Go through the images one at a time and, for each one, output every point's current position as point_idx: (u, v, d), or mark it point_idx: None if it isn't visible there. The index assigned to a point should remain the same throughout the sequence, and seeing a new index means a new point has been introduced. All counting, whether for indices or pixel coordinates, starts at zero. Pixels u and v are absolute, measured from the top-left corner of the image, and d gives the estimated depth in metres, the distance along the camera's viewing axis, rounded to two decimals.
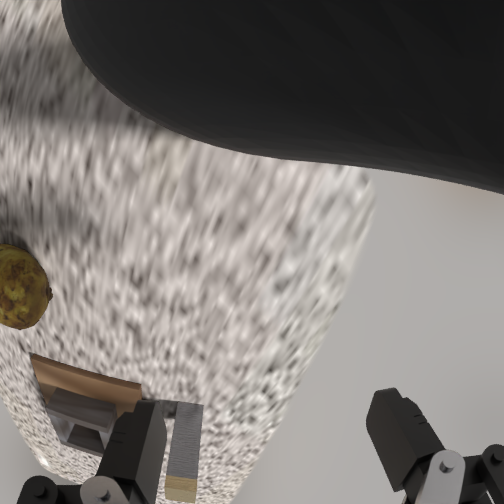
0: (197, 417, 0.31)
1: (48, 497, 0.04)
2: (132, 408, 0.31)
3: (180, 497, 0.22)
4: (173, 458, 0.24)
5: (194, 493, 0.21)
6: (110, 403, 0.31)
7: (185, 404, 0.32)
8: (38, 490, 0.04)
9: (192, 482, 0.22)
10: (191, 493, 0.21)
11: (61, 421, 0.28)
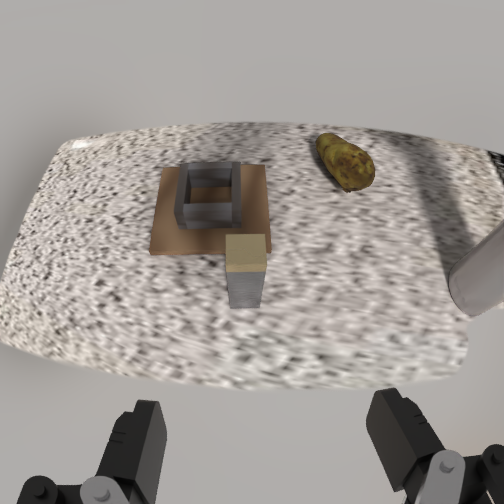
0: None
1: (48, 497, 0.04)
2: None
3: (241, 249, 0.27)
4: None
5: (261, 262, 0.26)
6: (241, 223, 0.41)
7: None
8: (38, 490, 0.04)
9: None
10: (260, 259, 0.26)
11: (217, 172, 0.41)
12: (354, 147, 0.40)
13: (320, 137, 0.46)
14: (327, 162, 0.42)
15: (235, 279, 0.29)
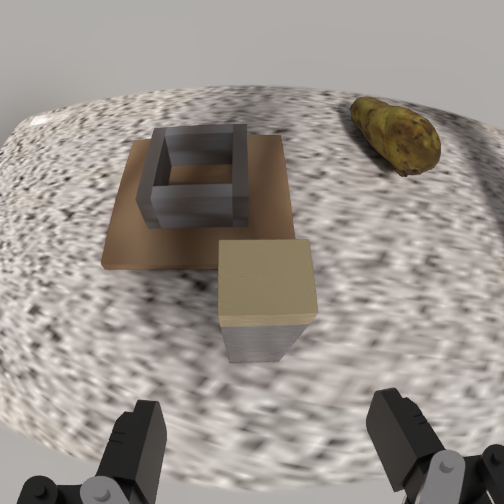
0: None
1: (48, 497, 0.04)
2: None
3: (255, 277, 0.11)
4: None
5: (305, 309, 0.11)
6: (248, 219, 0.25)
7: None
8: (38, 490, 0.04)
9: None
10: (303, 302, 0.11)
11: (209, 139, 0.26)
12: (412, 112, 0.25)
13: (358, 101, 0.30)
14: (374, 131, 0.27)
15: (240, 336, 0.13)
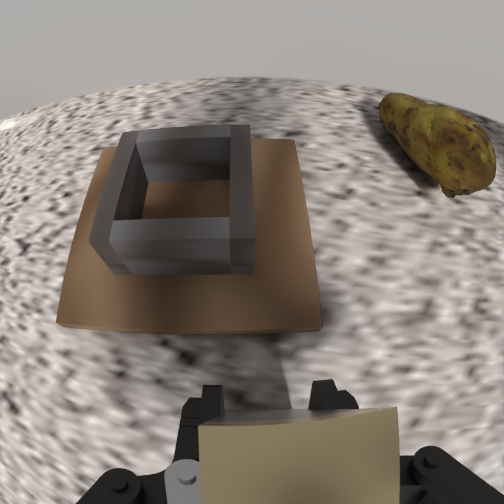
0: None
1: (130, 490, 0.05)
2: (253, 310, 0.17)
3: None
4: None
5: None
6: (252, 263, 0.18)
7: None
8: (118, 484, 0.05)
9: None
10: None
11: (197, 147, 0.18)
12: (462, 114, 0.17)
13: (389, 97, 0.23)
14: (416, 137, 0.19)
15: None
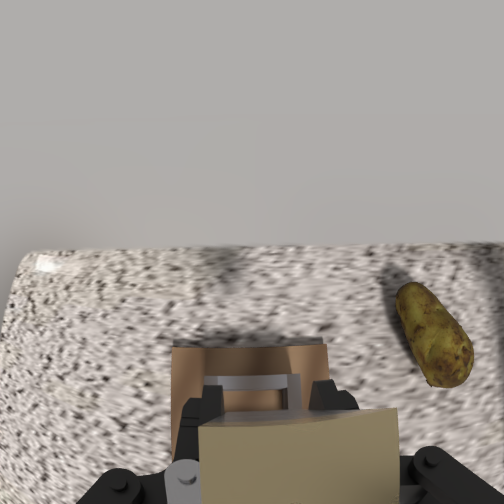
0: None
1: (130, 490, 0.05)
2: None
3: None
4: None
5: None
6: None
7: None
8: (118, 484, 0.05)
9: None
10: None
11: None
12: (458, 336, 0.24)
13: (407, 297, 0.30)
14: (417, 353, 0.26)
15: None
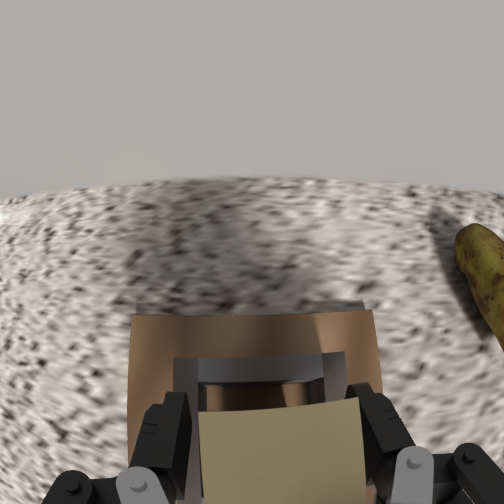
0: None
1: (82, 492, 0.05)
2: None
3: (266, 476, 0.05)
4: None
5: None
6: None
7: None
8: (71, 485, 0.05)
9: None
10: (345, 503, 0.05)
11: (279, 381, 0.14)
12: None
13: (473, 239, 0.19)
14: (499, 315, 0.15)
15: None
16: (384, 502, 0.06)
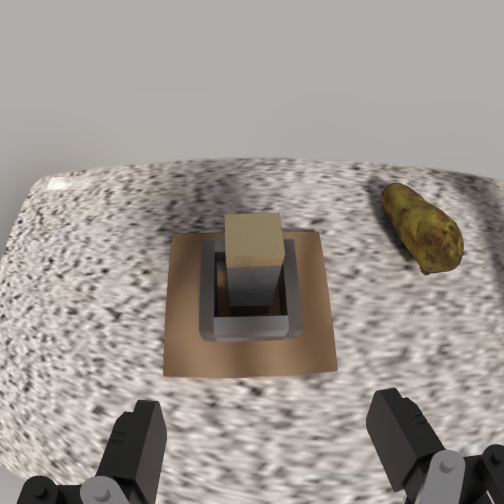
0: None
1: (48, 497, 0.04)
2: (296, 362, 0.27)
3: (247, 234, 0.19)
4: None
5: (277, 251, 0.18)
6: None
7: None
8: (38, 490, 0.04)
9: None
10: (276, 247, 0.18)
11: None
12: (442, 216, 0.27)
13: (390, 190, 0.33)
14: (406, 234, 0.29)
15: (239, 278, 0.21)
16: None
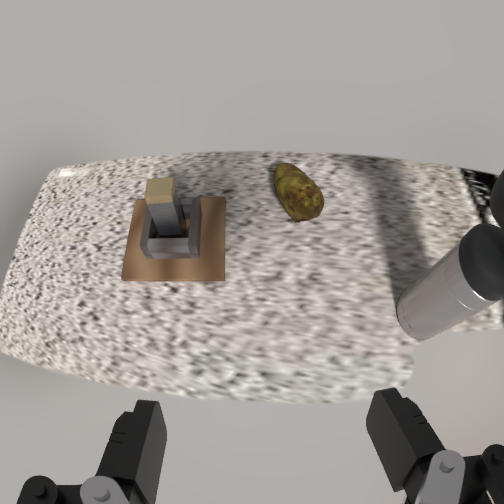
0: (183, 233, 0.46)
1: (48, 497, 0.04)
2: (198, 271, 0.45)
3: (155, 187, 0.37)
4: (177, 197, 0.41)
5: (167, 194, 0.37)
6: (199, 254, 0.46)
7: (185, 231, 0.48)
8: (38, 490, 0.04)
9: (172, 197, 0.38)
10: (167, 192, 0.37)
11: None
12: (303, 180, 0.46)
13: (277, 168, 0.51)
14: (278, 194, 0.48)
15: (155, 211, 0.39)
16: None
